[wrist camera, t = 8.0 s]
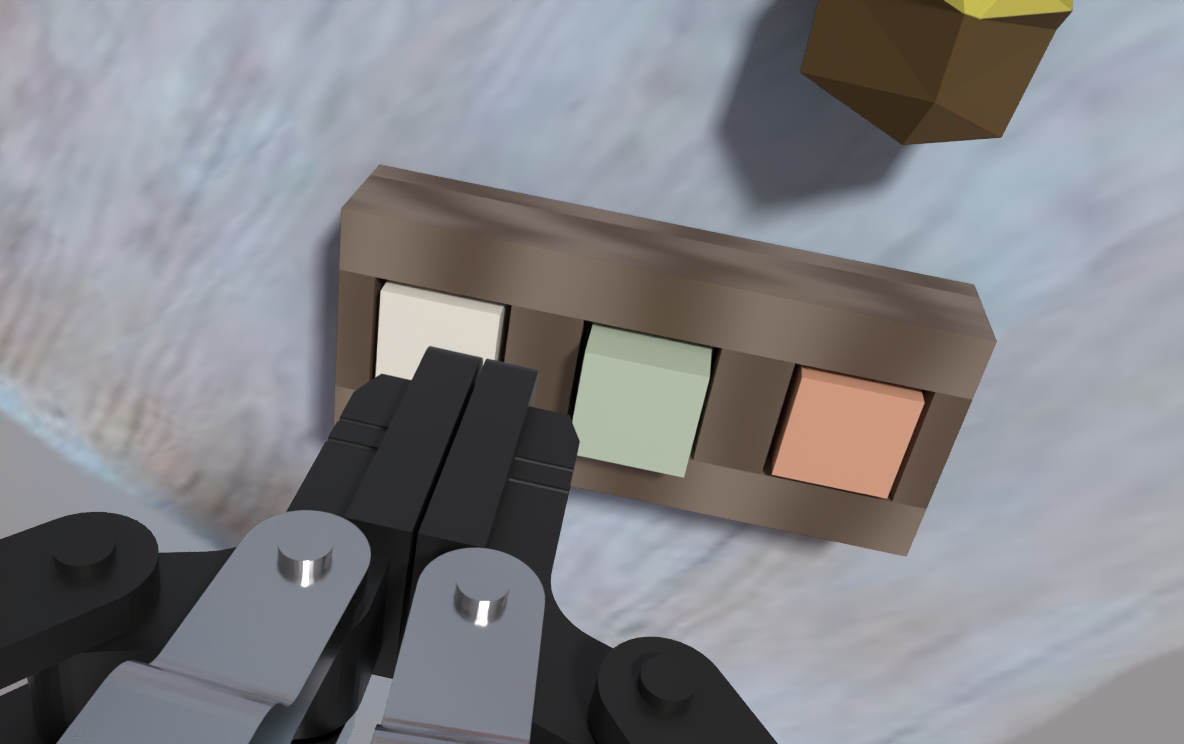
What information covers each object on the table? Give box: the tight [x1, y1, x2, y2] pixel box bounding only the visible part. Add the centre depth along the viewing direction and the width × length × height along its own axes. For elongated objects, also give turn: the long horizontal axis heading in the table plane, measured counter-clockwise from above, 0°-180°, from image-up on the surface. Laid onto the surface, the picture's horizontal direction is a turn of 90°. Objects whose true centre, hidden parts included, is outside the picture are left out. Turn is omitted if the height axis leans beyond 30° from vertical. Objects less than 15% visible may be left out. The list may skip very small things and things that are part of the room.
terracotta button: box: [771, 363, 925, 499], centre depth 37 cm, size 4×4×3 cm
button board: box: [334, 165, 997, 556], centre depth 37 cm, size 21×9×4 cm, turn 81°
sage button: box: [572, 322, 712, 478], centre depth 36 cm, size 4×4×3 cm
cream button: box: [376, 280, 512, 380], centre depth 37 cm, size 4×4×3 cm
